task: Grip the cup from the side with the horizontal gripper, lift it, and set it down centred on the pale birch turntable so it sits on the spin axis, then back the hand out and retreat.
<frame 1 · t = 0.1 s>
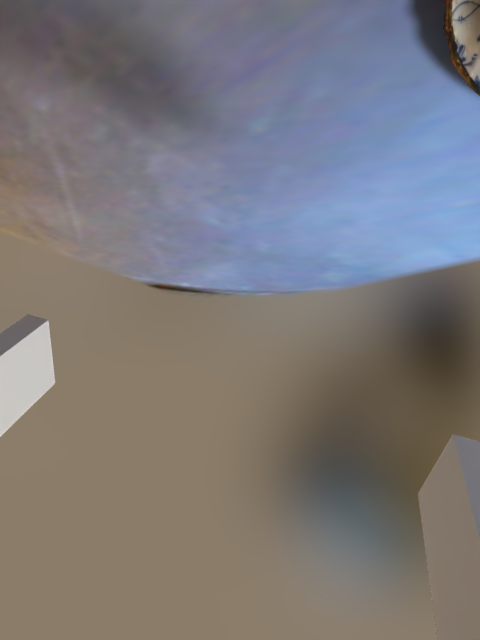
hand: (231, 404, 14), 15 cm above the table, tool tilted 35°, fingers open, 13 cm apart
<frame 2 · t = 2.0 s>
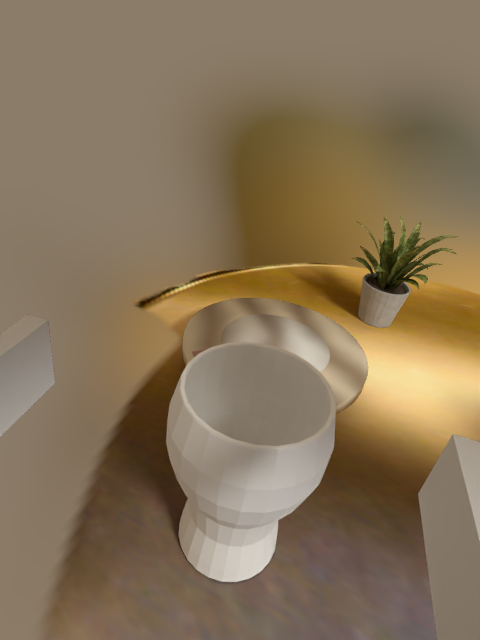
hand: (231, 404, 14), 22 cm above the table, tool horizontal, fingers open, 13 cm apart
cup: (227, 532, 33), on the table
turntable platter: (274, 348, 51), point 3 cm above the table, hinge at 0.0°
house plant: (382, 322, 66), on the table
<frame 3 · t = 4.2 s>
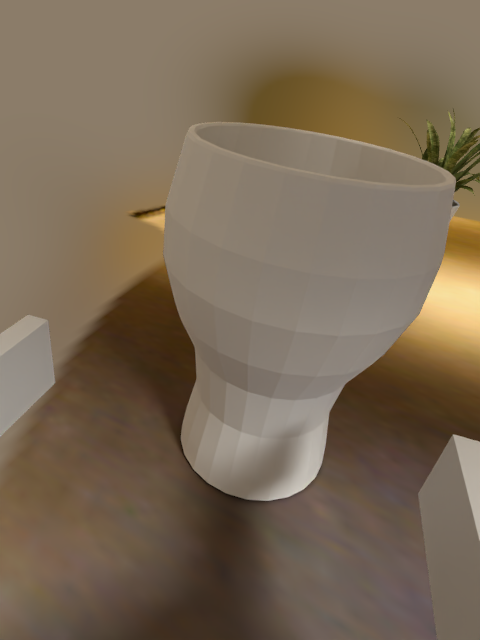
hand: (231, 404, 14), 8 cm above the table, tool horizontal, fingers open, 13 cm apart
cup: (251, 441, 23), on the table
house plant: (422, 248, 56), on the table
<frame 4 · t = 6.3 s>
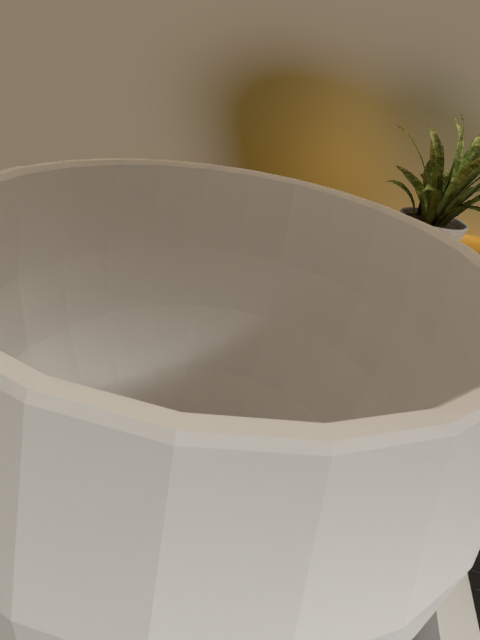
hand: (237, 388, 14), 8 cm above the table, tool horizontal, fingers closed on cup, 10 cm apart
cup: (175, 632, 15), on the table, touching gripper
house plant: (424, 276, 48), on the table
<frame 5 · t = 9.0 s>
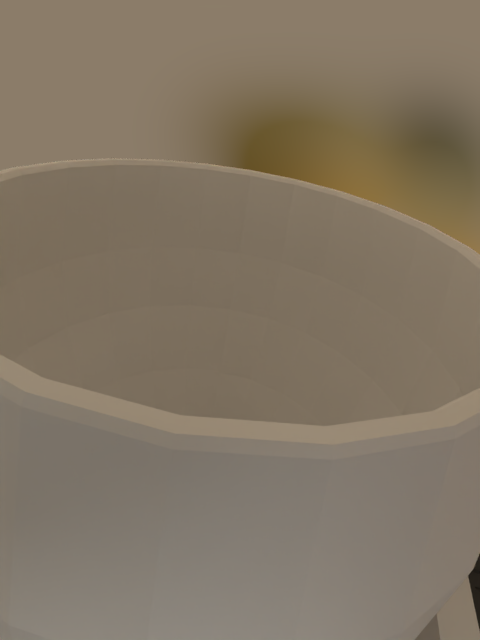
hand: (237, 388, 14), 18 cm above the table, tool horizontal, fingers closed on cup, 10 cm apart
cup: (175, 633, 15), point 10 cm above the table, touching gripper
when the fingers open (13 cm above the table, at t = 11.7 s): cup drops 1 cm, resting on turntable platter.
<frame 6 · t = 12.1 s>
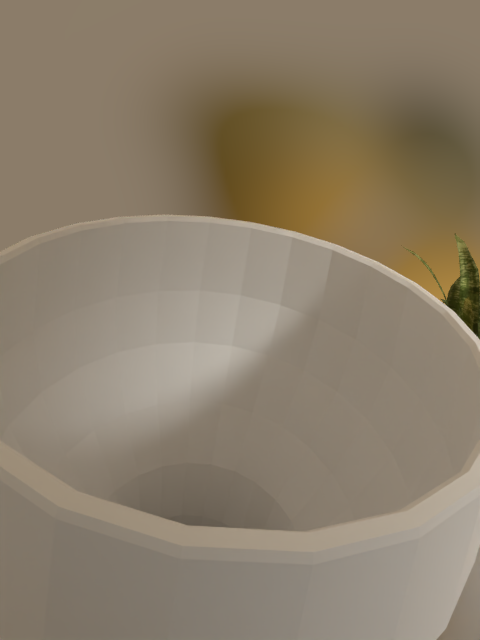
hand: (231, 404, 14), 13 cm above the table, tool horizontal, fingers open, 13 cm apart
house plant: (446, 453, 32), on the table
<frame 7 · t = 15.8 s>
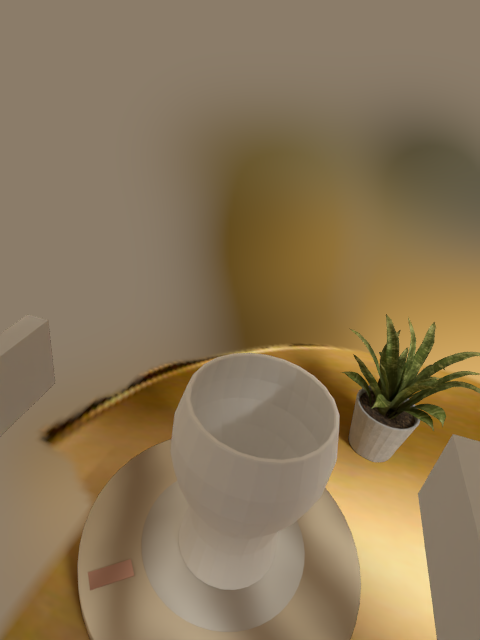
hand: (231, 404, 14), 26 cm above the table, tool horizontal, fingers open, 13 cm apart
cup: (227, 540, 34), point 3 cm above the table, touching turntable platter
turntable platter: (223, 542, 34), point 3 cm above the table, hinge at 0.0°, touching cup
house plant: (380, 451, 50), on the table
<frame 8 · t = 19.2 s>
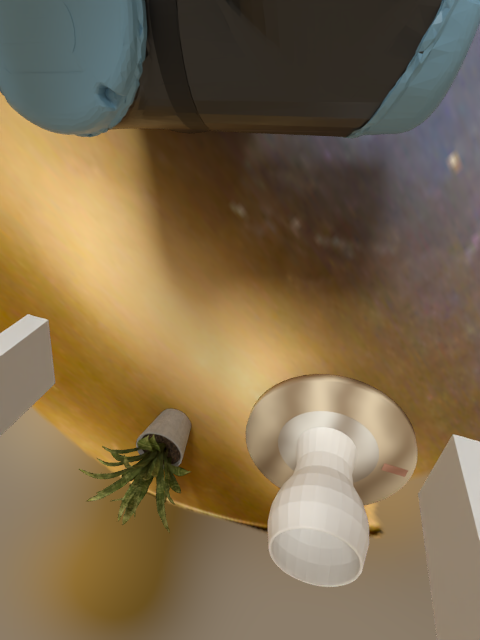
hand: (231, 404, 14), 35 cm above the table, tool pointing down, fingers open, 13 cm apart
cup: (326, 447, 55), point 3 cm above the table, touching turntable platter
turntable platter: (327, 445, 56), point 3 cm above the table, hinge at 0.0°, touching cup
house plant: (171, 414, 65), on the table
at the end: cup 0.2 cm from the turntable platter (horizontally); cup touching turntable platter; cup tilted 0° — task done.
